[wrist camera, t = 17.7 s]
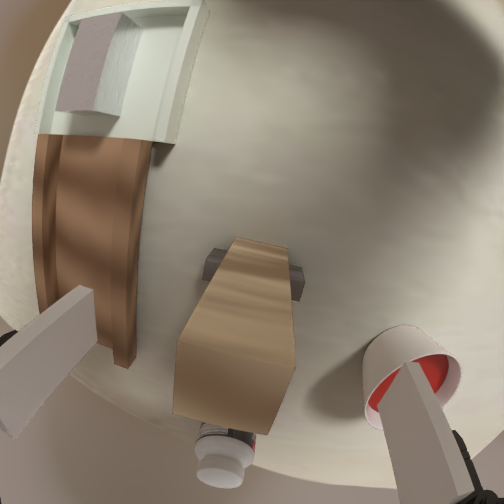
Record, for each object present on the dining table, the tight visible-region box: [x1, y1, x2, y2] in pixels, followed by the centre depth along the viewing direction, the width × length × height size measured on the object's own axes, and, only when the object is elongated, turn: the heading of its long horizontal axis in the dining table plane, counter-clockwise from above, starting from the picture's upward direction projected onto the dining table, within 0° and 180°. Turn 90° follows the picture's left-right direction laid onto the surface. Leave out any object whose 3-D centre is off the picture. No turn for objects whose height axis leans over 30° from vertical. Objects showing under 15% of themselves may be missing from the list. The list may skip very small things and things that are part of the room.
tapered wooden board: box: [173, 237, 305, 435], centre depth 16 cm, size 4×7×14 cm, turn 78°
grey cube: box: [67, 12, 144, 71], centre depth 16 cm, size 4×4×4 cm
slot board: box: [32, 134, 153, 369], centre depth 22 cm, size 20×11×3 cm, turn 168°
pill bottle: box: [195, 422, 256, 488], centre depth 23 cm, size 5×5×10 cm
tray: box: [34, 0, 210, 144], centre depth 18 cm, size 12×14×2 cm
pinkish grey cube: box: [55, 58, 131, 116], centre depth 17 cm, size 4×4×4 cm
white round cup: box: [362, 325, 462, 431], centre depth 21 cm, size 9×9×6 cm
